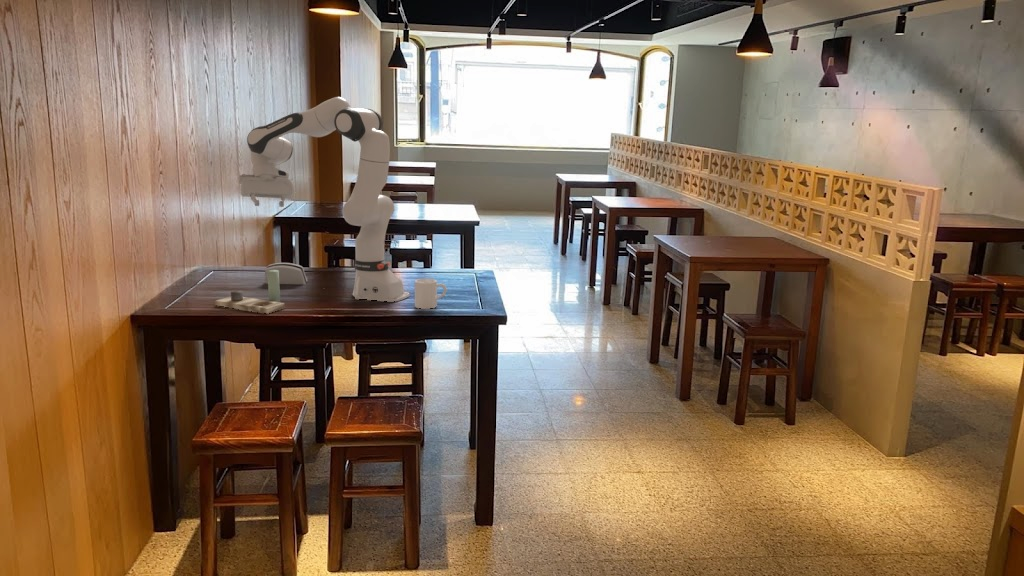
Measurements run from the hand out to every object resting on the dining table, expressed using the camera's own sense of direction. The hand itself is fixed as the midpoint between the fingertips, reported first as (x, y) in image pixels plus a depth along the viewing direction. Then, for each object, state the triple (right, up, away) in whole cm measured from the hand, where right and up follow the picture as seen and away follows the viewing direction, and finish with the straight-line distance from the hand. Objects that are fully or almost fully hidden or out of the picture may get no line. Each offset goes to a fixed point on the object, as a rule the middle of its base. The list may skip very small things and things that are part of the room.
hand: (269, 205), depth 288 cm
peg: (+6, -38, -13) cm, 40 cm away
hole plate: (0, -39, -21) cm, 44 cm away
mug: (+65, -39, -14) cm, 77 cm away
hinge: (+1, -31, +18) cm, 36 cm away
